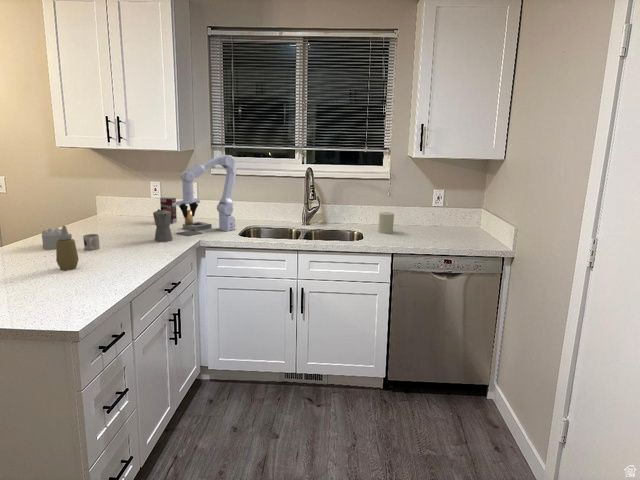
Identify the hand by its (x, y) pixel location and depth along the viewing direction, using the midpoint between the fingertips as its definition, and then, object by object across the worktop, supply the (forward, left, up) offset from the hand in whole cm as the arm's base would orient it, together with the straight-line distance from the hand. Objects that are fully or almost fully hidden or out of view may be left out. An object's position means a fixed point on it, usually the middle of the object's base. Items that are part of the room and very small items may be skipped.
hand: (188, 216), depth 254 cm
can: (-79, -85, -10) cm, 116 cm away
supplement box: (+35, -10, -10) cm, 38 cm away
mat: (0, 0, -10) cm, 10 cm away
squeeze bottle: (-21, +75, -10) cm, 79 cm away
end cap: (0, 0, -4) cm, 5 cm away
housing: (+9, -12, -10) cm, 18 cm away
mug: (+3, +54, -10) cm, 55 cm away
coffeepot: (-3, +19, -10) cm, 22 cm away
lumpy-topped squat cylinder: (+21, +63, -10) cm, 67 cm away
